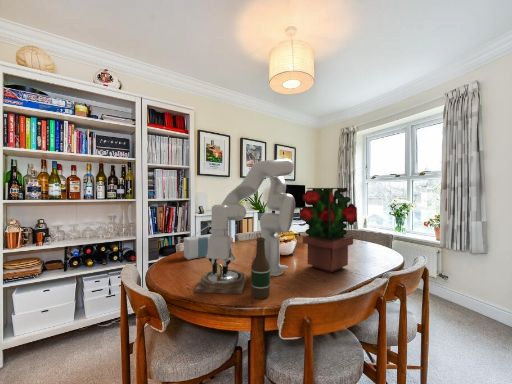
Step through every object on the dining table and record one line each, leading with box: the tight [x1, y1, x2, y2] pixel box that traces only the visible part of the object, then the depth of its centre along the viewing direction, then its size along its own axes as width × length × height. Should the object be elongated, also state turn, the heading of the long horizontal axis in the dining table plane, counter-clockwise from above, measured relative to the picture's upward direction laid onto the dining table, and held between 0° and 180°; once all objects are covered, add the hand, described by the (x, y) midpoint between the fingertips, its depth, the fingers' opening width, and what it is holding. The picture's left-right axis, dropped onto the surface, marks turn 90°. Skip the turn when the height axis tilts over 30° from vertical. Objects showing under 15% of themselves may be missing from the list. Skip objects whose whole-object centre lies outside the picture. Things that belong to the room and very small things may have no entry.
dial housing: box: [194, 268, 248, 295], centre depth 113 cm, size 20×20×4 cm
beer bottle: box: [250, 236, 271, 300], centre depth 101 cm, size 8×8×24 cm
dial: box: [208, 263, 238, 283], centre depth 113 cm, size 14×14×9 cm
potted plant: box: [299, 187, 358, 274], centre depth 136 cm, size 22×22×45 cm
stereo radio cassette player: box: [183, 225, 212, 261], centre depth 158 cm, size 21×8×20 cm, turn 130°
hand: (220, 273), depth 108 cm, fingers open, 4 cm apart
